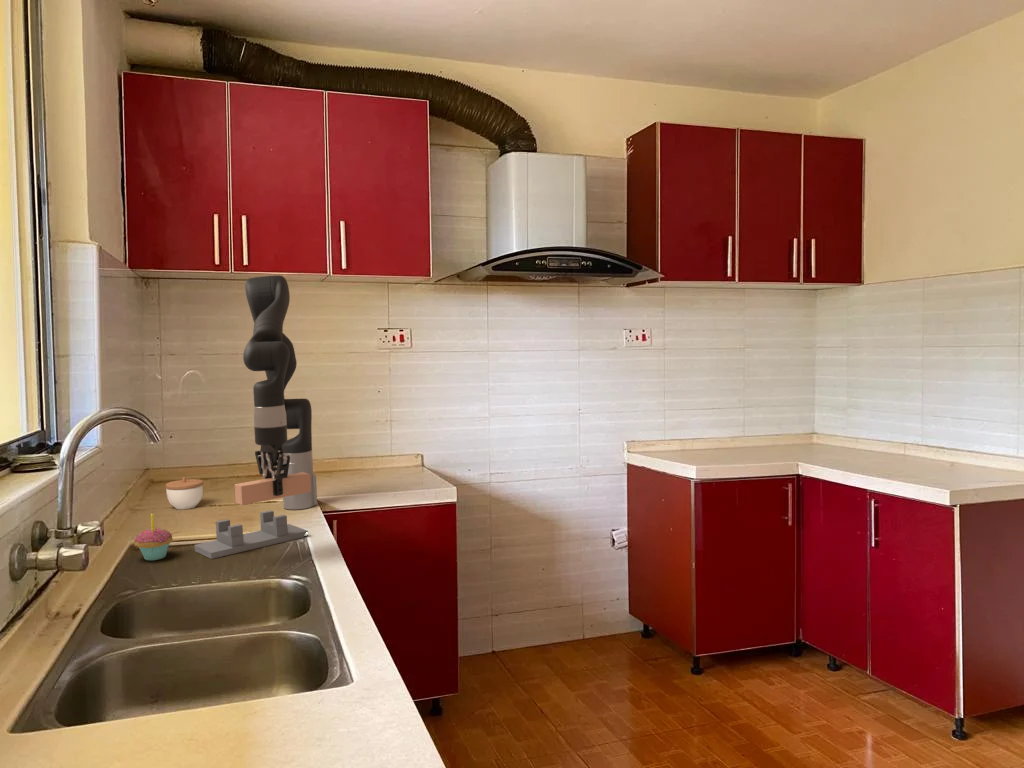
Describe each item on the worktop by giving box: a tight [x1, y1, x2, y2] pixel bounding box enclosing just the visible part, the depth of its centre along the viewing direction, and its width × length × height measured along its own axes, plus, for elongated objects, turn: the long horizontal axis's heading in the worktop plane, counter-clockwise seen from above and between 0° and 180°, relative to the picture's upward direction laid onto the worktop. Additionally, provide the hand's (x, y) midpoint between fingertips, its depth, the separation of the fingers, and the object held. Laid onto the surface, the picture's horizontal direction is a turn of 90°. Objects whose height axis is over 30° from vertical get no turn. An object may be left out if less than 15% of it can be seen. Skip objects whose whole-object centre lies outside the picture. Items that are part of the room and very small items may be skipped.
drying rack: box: [193, 510, 309, 560], centre depth 200 cm, size 26×10×6 cm, turn 134°
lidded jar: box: [165, 476, 204, 511], centre depth 241 cm, size 11×11×9 cm
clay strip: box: [234, 472, 311, 506], centre depth 190 cm, size 18×4×4 cm, turn 134°
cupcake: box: [133, 511, 173, 561], centre depth 190 cm, size 9×8×12 cm
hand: (274, 493), depth 190 cm, fingers closed on clay strip, 3 cm apart
